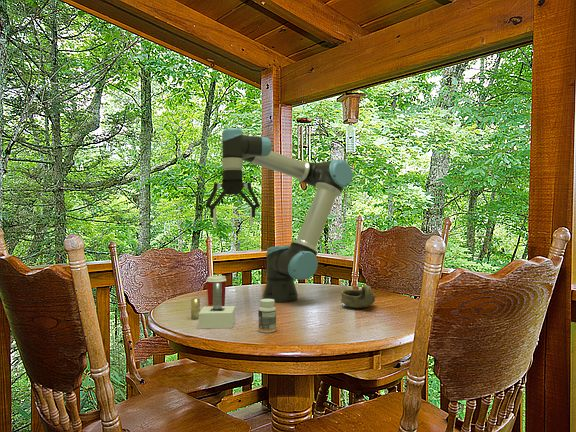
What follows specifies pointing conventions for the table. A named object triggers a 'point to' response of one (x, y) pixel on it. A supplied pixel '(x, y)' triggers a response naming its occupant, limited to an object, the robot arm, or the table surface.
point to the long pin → (217, 296)
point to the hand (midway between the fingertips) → (233, 226)
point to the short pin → (195, 308)
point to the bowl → (358, 297)
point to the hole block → (217, 317)
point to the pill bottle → (267, 316)
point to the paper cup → (210, 282)
